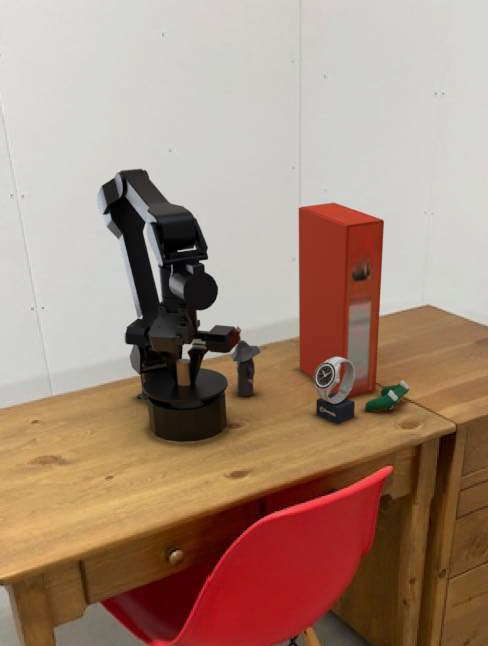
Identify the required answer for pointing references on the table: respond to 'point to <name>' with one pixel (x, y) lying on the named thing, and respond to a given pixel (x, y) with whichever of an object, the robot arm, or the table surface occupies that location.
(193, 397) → the lid
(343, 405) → the watch
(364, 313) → the file binder
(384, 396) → the green toy shoe
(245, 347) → the wizard figurine
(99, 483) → the table surface
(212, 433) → the pot
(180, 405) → the block
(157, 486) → the table surface
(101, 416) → the table surface
